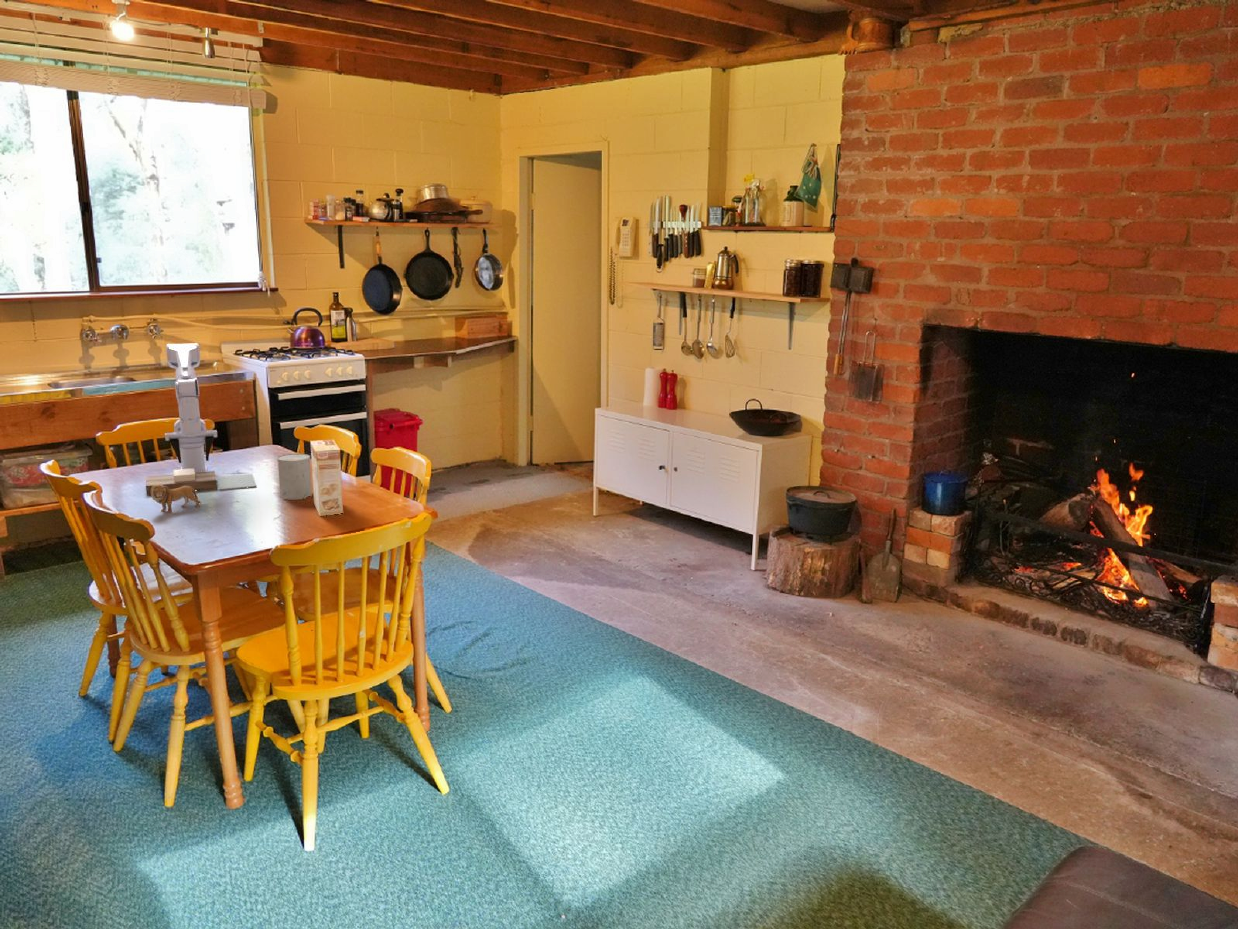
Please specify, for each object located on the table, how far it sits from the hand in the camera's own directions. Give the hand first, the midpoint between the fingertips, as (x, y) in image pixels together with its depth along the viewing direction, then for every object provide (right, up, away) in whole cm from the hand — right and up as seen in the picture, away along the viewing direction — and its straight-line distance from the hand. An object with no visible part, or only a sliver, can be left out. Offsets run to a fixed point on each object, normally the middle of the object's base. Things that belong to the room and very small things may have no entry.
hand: (193, 461), depth 289 cm
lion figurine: (+2, -15, -16) cm, 22 cm away
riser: (-7, -8, +8) cm, 13 cm away
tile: (-6, -5, +7) cm, 11 cm away
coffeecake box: (+45, -14, -11) cm, 49 cm away
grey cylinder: (+31, -11, +2) cm, 33 cm away
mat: (+7, -7, +15) cm, 18 cm away
